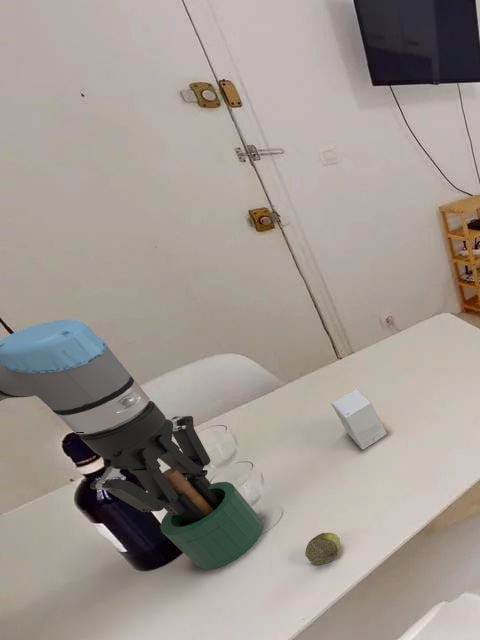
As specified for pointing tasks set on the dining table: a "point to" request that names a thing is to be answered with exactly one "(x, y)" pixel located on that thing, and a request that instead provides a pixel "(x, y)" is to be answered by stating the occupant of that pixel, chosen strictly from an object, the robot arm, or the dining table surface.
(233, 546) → the green tube ring
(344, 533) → the dining table surface
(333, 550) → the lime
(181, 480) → the brown and grey pestle
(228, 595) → the dining table surface
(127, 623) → the dining table surface
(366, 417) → the small box
